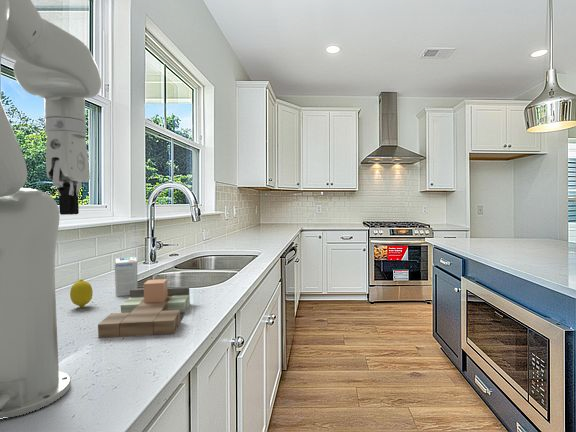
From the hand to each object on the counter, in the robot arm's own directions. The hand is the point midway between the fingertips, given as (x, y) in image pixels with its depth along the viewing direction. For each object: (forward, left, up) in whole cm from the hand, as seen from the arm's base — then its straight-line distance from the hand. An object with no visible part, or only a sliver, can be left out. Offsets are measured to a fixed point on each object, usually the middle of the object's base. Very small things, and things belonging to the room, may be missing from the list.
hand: (69, 214), depth 80 cm
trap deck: (+10, -14, -27) cm, 32 cm away
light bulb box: (+41, +1, -27) cm, 49 cm away
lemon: (+24, +8, -27) cm, 37 cm away
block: (+17, -14, -24) cm, 32 cm away
